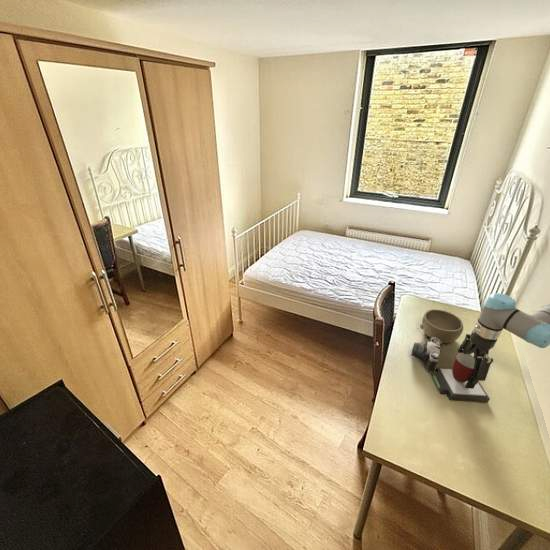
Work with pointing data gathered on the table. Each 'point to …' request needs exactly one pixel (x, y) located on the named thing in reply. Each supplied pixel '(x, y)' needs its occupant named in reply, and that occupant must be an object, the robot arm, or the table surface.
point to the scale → (458, 387)
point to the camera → (428, 353)
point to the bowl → (442, 325)
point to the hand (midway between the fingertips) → (463, 378)
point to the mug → (463, 367)
